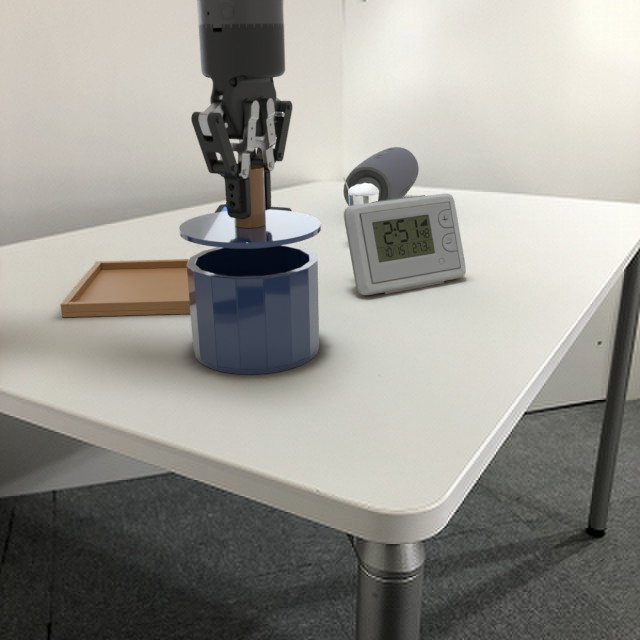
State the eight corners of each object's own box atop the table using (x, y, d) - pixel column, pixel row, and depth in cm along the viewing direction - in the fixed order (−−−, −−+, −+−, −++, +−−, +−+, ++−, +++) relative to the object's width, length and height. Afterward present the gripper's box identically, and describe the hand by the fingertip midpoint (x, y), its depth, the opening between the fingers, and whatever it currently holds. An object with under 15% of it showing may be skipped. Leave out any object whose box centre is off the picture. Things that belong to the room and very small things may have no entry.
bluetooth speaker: (373, 195, 151) (373, 143, 148) (420, 197, 149) (422, 144, 145) (339, 221, 131) (339, 161, 128) (393, 224, 128) (394, 163, 125)
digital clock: (355, 300, 93) (355, 212, 89) (333, 279, 101) (332, 198, 97) (479, 287, 97) (483, 202, 93) (448, 267, 105) (451, 189, 101)
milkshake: (348, 239, 120) (348, 174, 117) (381, 241, 118) (382, 176, 115) (339, 246, 116) (338, 179, 113) (373, 249, 114) (374, 181, 111)
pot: (187, 376, 73) (179, 280, 70) (201, 328, 85) (195, 244, 82) (321, 372, 74) (319, 276, 70) (316, 325, 85) (315, 241, 82)
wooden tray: (62, 317, 89) (60, 304, 89) (97, 272, 106) (96, 261, 105) (215, 313, 90) (215, 300, 89) (227, 269, 106) (226, 257, 106)
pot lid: (170, 256, 69) (163, 181, 66) (188, 220, 81) (184, 157, 79) (323, 253, 69) (323, 178, 67) (318, 218, 82) (317, 154, 80)
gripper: (248, 21, 76) (255, 197, 82) (156, 20, 64) (172, 225, 70) (316, 20, 73) (318, 203, 79) (232, 19, 61) (242, 234, 67)
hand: (249, 212), depth 74 cm, fingers closed on pot lid, 3 cm apart
